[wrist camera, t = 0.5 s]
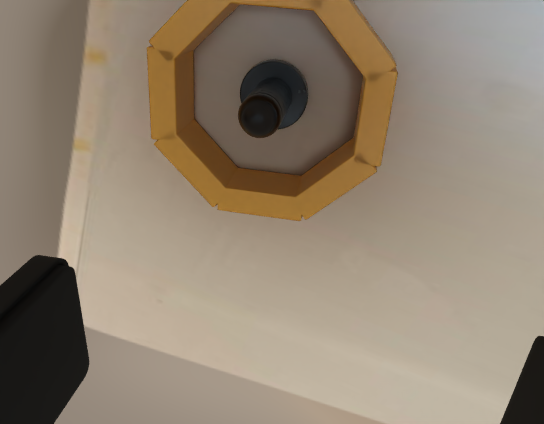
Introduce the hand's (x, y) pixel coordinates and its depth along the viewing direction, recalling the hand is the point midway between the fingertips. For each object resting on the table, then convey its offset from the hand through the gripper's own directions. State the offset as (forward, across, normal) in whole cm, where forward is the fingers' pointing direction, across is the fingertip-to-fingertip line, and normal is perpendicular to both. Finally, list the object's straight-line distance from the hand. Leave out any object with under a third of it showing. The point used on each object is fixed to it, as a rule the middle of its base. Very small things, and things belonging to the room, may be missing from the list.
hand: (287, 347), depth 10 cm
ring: (+18, +3, -2) cm, 18 cm away
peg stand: (+18, +3, -1) cm, 18 cm away
